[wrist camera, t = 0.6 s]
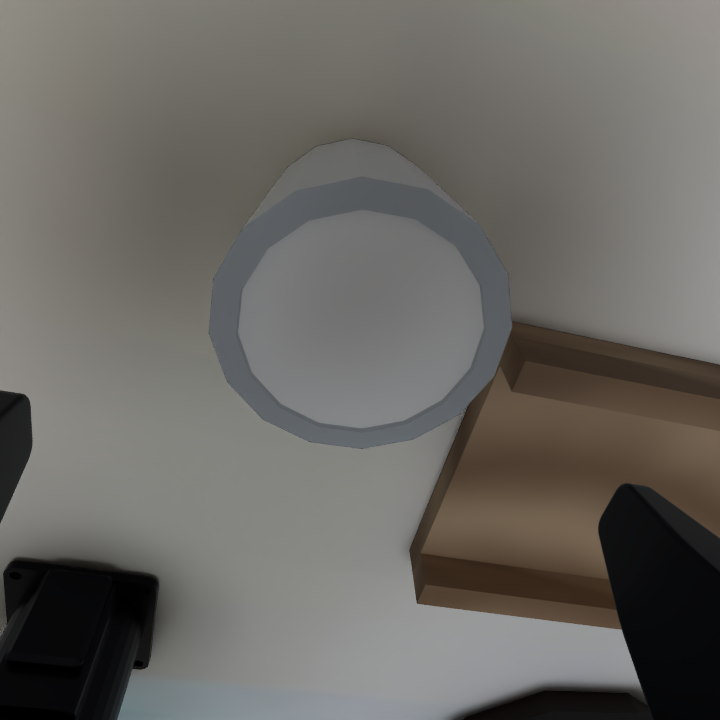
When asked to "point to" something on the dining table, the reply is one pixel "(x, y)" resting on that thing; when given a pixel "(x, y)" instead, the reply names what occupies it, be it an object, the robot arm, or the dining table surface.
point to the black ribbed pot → (569, 707)
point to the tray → (563, 473)
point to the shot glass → (359, 301)
